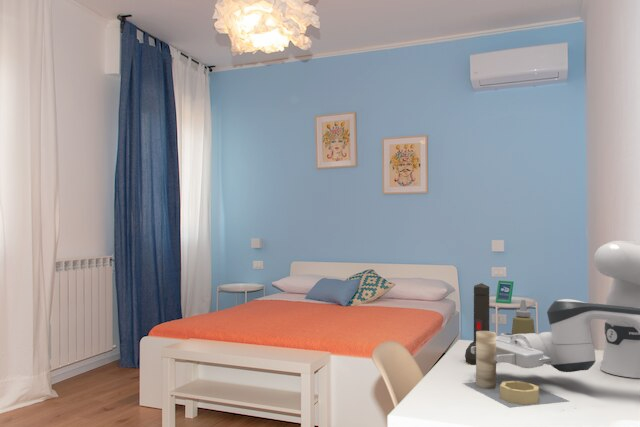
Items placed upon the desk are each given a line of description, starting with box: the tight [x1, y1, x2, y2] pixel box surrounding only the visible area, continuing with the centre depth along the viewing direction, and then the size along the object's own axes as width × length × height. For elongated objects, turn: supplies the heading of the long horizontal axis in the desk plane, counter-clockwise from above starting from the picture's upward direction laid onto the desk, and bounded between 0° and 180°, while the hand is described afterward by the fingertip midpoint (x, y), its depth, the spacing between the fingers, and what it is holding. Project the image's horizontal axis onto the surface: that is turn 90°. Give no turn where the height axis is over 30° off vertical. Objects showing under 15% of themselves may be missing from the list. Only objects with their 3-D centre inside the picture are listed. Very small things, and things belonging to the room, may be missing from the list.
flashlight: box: [464, 282, 498, 366], centre depth 172 cm, size 10×25×10 cm
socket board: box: [462, 378, 569, 408], centre depth 138 cm, size 17×20×4 cm
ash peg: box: [475, 330, 497, 389], centre depth 143 cm, size 5×5×14 cm
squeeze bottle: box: [511, 299, 536, 334], centre depth 184 cm, size 8×8×18 cm
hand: (483, 354), depth 143 cm, fingers open, 8 cm apart
